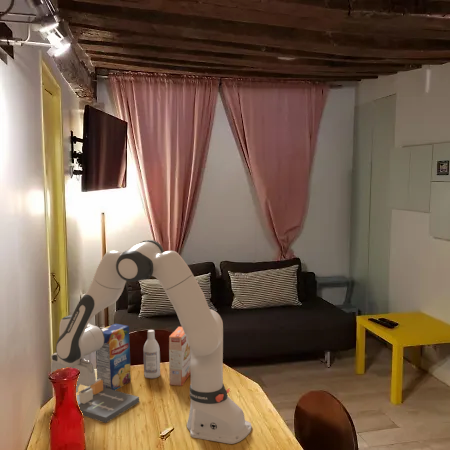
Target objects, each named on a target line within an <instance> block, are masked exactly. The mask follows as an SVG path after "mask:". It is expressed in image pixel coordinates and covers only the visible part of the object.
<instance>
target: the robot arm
mask: <svg viewBox="0 0 450 450" xmlns="http://www.w3.org/2000/svg"><path fill="white" fill-rule="evenodd" d="M194 275H195V274H194V273H193V272H192V270H191V269H190V267H189V266H188V264H187V262H186V261H185V260H184V258H182V256H181V255H180V254H179V253H178V252H177V251H175V250H166V251H165V250H164V247H163V246H162V245H161V244H160V243H159V242H158V241H156V240H153V239H148V240H147V239H146V240H142V241H140V242H139V243H137V244H134V245H132V246H130V247H129V248H128V249H126V250H124V251H123V252H122V251H119V250H109V251H107V252H105V254H104V255H103V256H102V259H101V260H100V262H99V264H98V265H97V267H96V270H95V273H94V276H93V278H92V281H91V283H90V284H89V286H88V287H87V288H88V289H87V290H86V292H85V293H84V295H83V296H82V297H81V299H80V300H79V301H78V303H77V305H76V307H75V309H74V311H73V313H72V314H70V315H67V316H64V317H63V318H61V319H60V322H59V332H58V334H59V335H58V339H57V342H56V344H55V345H56V346H55V352H54V353H51V355H50V360H51V362H50V372H51V374H52V372H53V371H55V370H57V369H61V368H66V367H72V368H77V369H79V370H80V375H79V378H78V381H77V386H76V393H75V394H77V393H79V387H80V386H84V387H87V388H88V387H90V386H91V385H93V384H94V383H95V382H96V380H97V376H96V371H95V367H94V364H93V363H92V362H91V361H90V360H86V356H88V355H91V354H92V353H96V351H97V350H99V349H101V348H102V347H103V345H104V341H105V337H104V333H103V331H102V330H101V329H102V328H100V326H98V325H96V324H95V325H94V324H91V323H90V322H91V320H92V319H93V317H95V316H96V315H97V314H98V313H99V312H101V311H103V310H105V309H106V308H108V307H110V306H112V305H114V303H116V302H117V301H118V300H119V298H120V296H122V293H123V291H124V290H125V289H124V288H125V287H126V283H127V282H130V283H131V282H139V281H144V280H149V279H151V277H154V278H156V279H157V280H158V282H159V283H160V285H161V287H162V289H163V291H164V292H165V295H166V296H167V298H168V300H169V301H170V304H171V305H172V307H173V309H174V311H175V312H176V315H177V318H178V320H179V323H180V327H182V328H183V330H184V333H185V335H186V337H187V340H188V343H189V346H190V348H191V364H190V365H191V373H190V385H189V399H190V405H189V407H190V408H189V412H188V413H189V414H188V419H187V421H186V427H187V429H188V431H189V434H190V437H191V438H194V439H200V440H207V441H211V442H218V443H223V444H230V445H231V444H232V445H233V444H237V443H239V442H242V440H244V439H246V437H248V436H249V434H250V433H251V431H252V423H251V422H249V421H247V420H246V418H245V414H244V410H243V409H242V408H241V407H240V406H239V405H238V404H237V403H236V402H235V401H234V400H232V398H231V397H229V396H228V393H230V390H231V389H230V388H231V387H230V388H227V389H226V387H225V385H224V379H223V378H224V377H223V376H224V375H223V374H224V370H223V369H224V363H223V361H224V360H223V359H224V354H223V353H224V323H223V319H222V317H221V315H220V314H219V313H218V312H217V311H215V310H214V309H211V308H210V306H209V303H208V301H207V299H206V296H205V293H204V292H203V289H202V288H201V286H200V284H199V282H198V281H197V279H196V278H195V276H194Z"/></svg>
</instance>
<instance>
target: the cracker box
mask: <svg viewBox="0 0 450 450" xmlns="http://www.w3.org/2000/svg"><path fill="white" fill-rule="evenodd" d="M168 341H169V342H168V359H169V361H168V362H169V363H168V364H169V365H168V367H169V369H168V370H169V371H168V372H169V374H168V377H169V385H170V386H179V387H182V386H183V385H184V384H185V382H186V381H187V379H188V378H189V376H191V365H190V364H191V348H190V346H189V343H188V340H187V337H186V335H185V333H184V330H183V328H182V326H177V328H176V329H175V330H174V331H172V333H171V334H170V335H169V337H168Z"/></svg>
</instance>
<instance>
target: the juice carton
mask: <svg viewBox="0 0 450 450" xmlns="http://www.w3.org/2000/svg"><path fill="white" fill-rule="evenodd" d="M100 329H101V330H102V331H103V333H104V337H105V341H104V345H103V347H102V348H101V349H99V350H97V351H95V355H96V356H95V357H96V359H95V361H96V380H97V379H99V378H101V380H103V387H105V388H108V389H112V390H116V391H117V390H119V389H120V388H121V387H124V386H125V385H127V384H129V383H131V380H132V379H131V351H130V349H131V347H130V326H129V325H125V324H120V323H114V324H111V325H109V326H105V327H103V328H100Z"/></svg>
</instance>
